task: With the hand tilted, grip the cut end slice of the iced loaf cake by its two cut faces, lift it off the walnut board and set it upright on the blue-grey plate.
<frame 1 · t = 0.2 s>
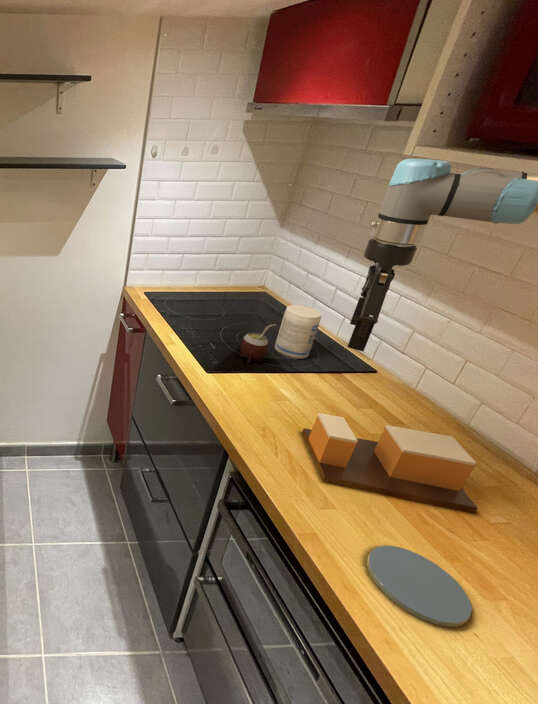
hand: (356, 336, 96), 27 cm above the worktop, tool pointing down, fingers open, 13 cm apart
cake slice: (326, 452, 100), point 1 cm above the worktop, touching serving board
serving board: (378, 468, 97), on the worktop
mate gourd: (251, 360, 139), on the worktop
plate: (415, 585, 74), on the worktop
loaf cake: (414, 470, 95), resting on serving board
supplement tub: (290, 352, 143), on the worktop
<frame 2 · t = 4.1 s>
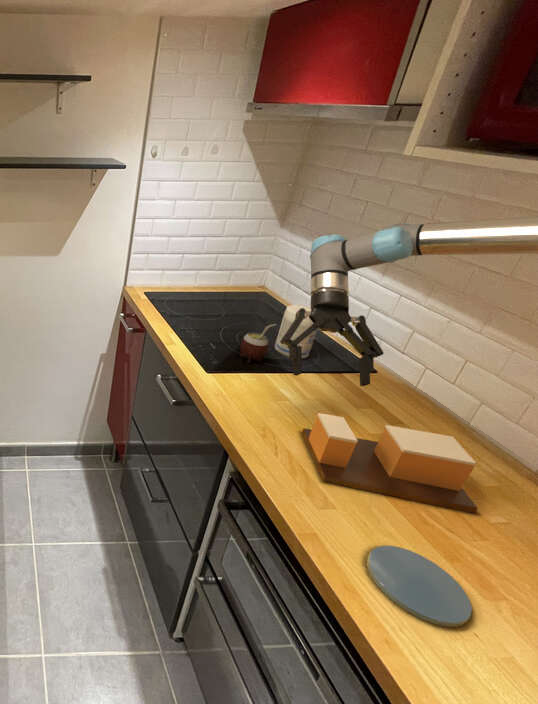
hand: (330, 379, 102), 15 cm above the worktop, tool tilted 45°, fingers open, 13 cm apart
nothing on the worktop moved.
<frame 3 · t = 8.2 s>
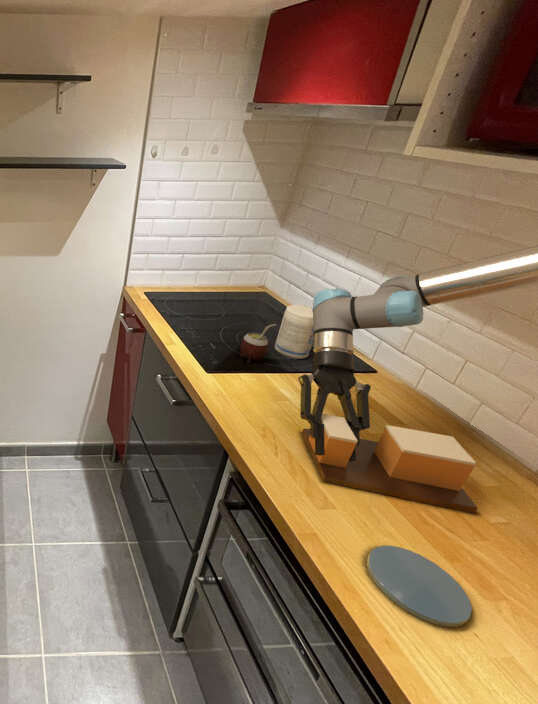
hand: (334, 457, 95), 3 cm above the worktop, tool tilted 45°, fingers closed on cake slice, 5 cm apart
cake slice: (326, 452, 100), point 2 cm above the worktop, touching gripper, serving board
everything else where it was.
when the fingers open (3 cm above the worktop, at t = 17.3 s): cake slice stays where it is, resting on plate.
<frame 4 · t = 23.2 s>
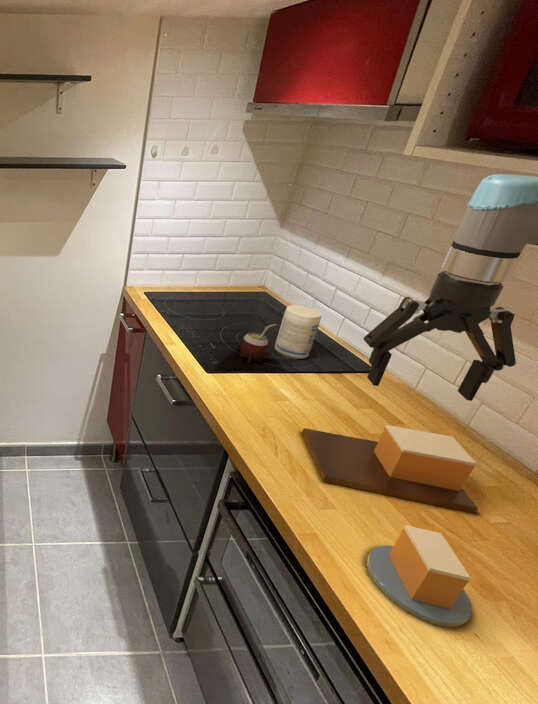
hand: (417, 388, 79), 27 cm above the worktop, tool pointing down, fingers open, 13 cm apart
cake slice: (417, 580, 73), point 1 cm above the worktop, touching plate
everything else where it was.
at the end: cake slice inside the target area on the plate (0.1 cm from its centre), point 1.0 cm above the plate's base; cake slice tilted 0°; the gripper is holding nothing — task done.
